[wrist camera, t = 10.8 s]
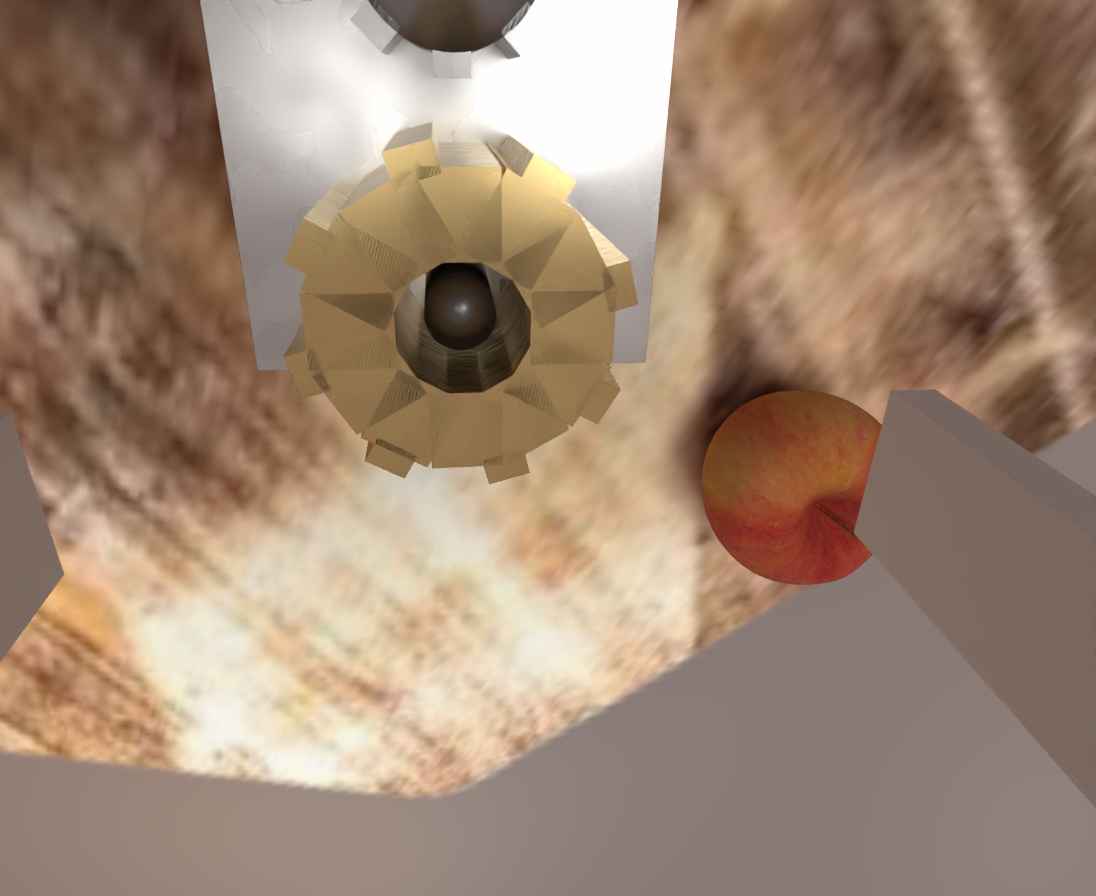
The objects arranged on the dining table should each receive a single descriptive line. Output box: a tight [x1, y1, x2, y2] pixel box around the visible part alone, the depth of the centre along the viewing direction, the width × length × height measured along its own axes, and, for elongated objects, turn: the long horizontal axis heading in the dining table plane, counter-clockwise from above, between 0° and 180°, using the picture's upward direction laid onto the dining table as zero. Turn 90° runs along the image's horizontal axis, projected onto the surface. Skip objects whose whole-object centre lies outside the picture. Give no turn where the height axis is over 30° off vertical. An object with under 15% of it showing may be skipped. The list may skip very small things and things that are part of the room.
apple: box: [702, 390, 882, 585], centre depth 28 cm, size 7×7×8 cm
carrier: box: [200, 0, 678, 370], centre depth 22 cm, size 16×14×7 cm
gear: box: [283, 122, 638, 484], centre depth 22 cm, size 9×9×7 cm
